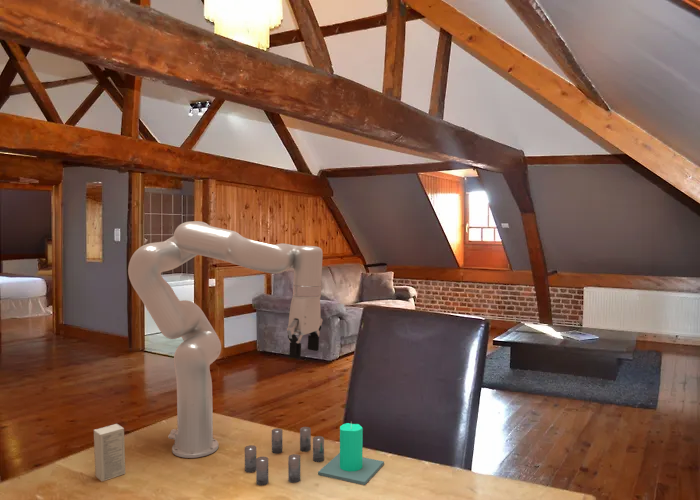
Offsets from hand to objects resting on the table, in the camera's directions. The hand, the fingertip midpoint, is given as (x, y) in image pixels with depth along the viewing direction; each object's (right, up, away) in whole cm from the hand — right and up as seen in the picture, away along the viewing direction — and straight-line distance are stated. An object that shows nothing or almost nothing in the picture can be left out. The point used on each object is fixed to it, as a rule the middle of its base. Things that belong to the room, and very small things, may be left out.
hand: (304, 353), depth 158 cm
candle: (+13, -28, -7) cm, 32 cm away
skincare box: (-48, -29, -12) cm, 57 cm away
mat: (+13, -29, -7) cm, 32 cm away
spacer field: (-5, -29, -5) cm, 29 cm away
